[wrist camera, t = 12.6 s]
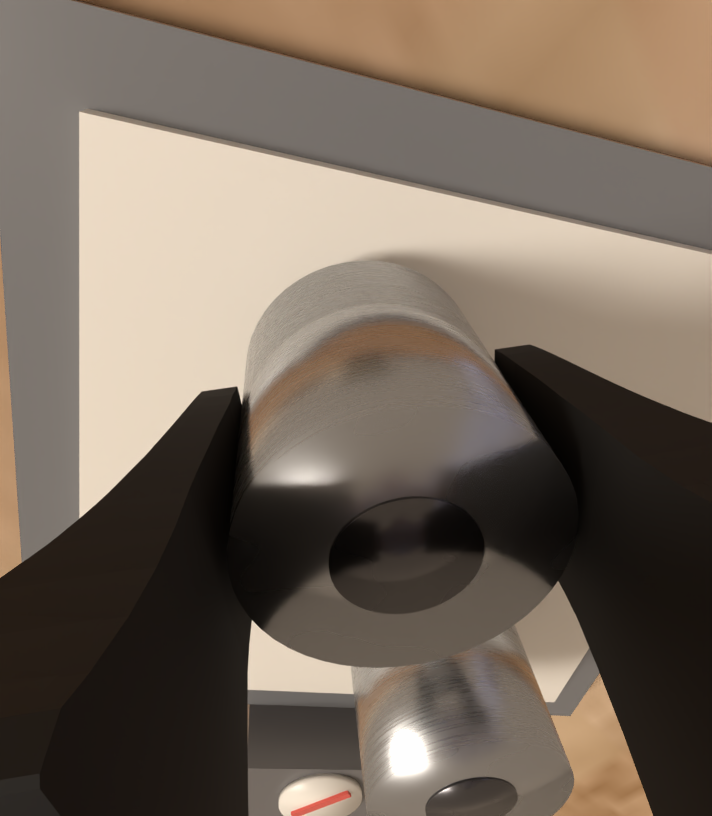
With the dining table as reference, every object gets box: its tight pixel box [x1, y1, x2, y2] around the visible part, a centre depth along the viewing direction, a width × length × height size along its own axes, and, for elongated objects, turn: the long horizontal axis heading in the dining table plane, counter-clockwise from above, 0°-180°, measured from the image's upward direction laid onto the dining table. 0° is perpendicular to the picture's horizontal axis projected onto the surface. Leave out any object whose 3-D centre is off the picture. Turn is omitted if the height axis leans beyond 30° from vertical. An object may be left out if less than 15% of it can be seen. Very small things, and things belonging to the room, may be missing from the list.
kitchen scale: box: [0, 0, 712, 816], centre depth 16 cm, size 18×21×3 cm
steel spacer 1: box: [227, 260, 579, 668], centre depth 10 cm, size 4×4×5 cm
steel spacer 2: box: [351, 625, 574, 816], centre depth 15 cm, size 4×4×5 cm
